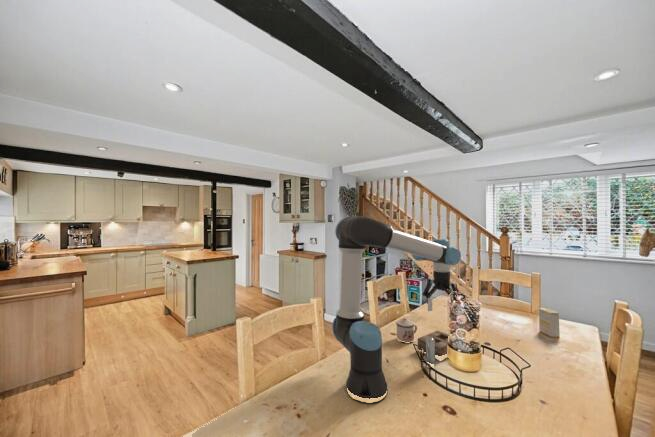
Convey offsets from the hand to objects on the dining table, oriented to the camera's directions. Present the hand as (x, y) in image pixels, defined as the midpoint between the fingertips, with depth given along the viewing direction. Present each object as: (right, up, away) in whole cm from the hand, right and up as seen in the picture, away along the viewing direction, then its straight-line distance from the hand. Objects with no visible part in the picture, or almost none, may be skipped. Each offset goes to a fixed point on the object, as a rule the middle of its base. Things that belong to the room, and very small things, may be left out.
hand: (442, 314), depth 128 cm
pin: (-12, -17, -16) cm, 26 cm away
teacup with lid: (-14, -17, +11) cm, 25 cm away
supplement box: (+64, -16, +15) cm, 68 cm away
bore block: (-3, -17, -2) cm, 17 cm away
